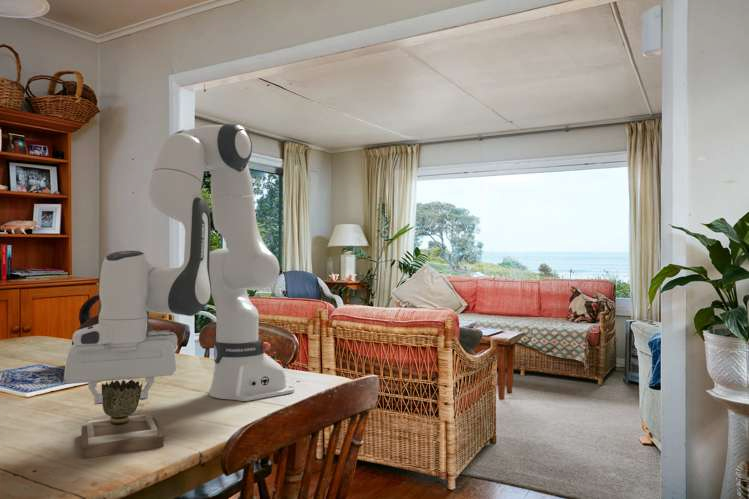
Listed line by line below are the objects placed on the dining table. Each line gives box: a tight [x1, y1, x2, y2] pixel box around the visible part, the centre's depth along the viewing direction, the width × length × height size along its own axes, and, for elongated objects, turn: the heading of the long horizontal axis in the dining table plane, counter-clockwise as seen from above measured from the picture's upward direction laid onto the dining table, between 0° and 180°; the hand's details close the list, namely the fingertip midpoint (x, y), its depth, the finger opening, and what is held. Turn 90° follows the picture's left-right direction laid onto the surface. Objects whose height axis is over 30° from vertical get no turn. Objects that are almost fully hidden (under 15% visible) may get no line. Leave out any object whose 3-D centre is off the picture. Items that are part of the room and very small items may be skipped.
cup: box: [101, 379, 143, 426], centre depth 109 cm, size 8×7×8 cm
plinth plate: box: [80, 413, 165, 459], centre depth 109 cm, size 14×14×3 cm
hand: (121, 401), depth 109 cm, fingers closed on cup, 7 cm apart
